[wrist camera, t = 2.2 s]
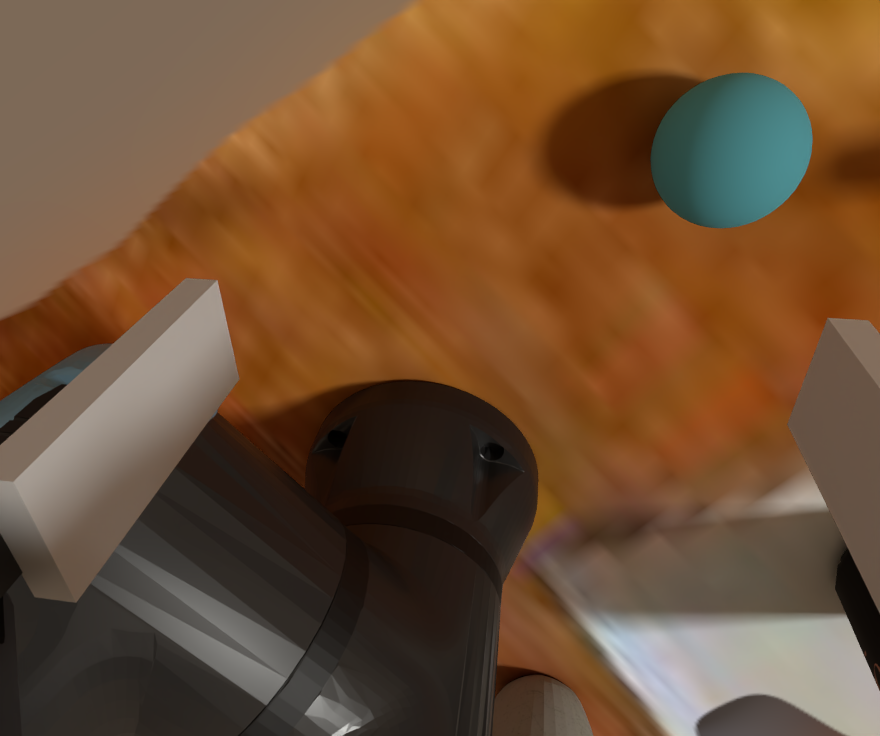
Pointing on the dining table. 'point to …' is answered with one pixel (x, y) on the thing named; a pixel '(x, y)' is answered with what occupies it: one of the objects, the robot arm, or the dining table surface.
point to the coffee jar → (860, 611)
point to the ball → (731, 150)
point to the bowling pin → (538, 709)
